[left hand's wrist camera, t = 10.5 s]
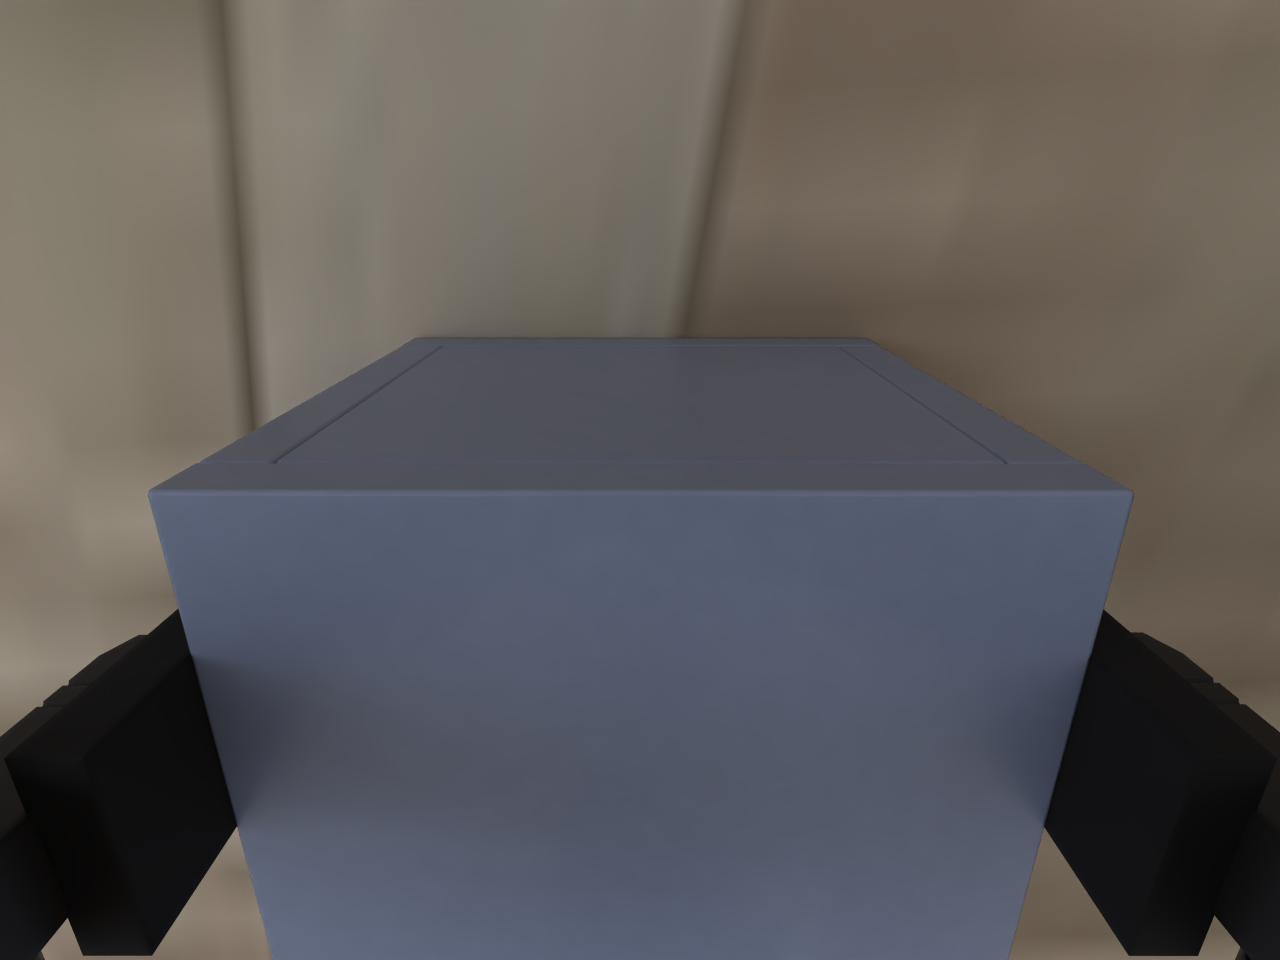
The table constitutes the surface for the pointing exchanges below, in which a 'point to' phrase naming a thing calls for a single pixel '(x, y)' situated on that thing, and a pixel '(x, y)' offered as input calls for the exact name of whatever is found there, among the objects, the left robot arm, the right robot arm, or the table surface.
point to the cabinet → (640, 652)
